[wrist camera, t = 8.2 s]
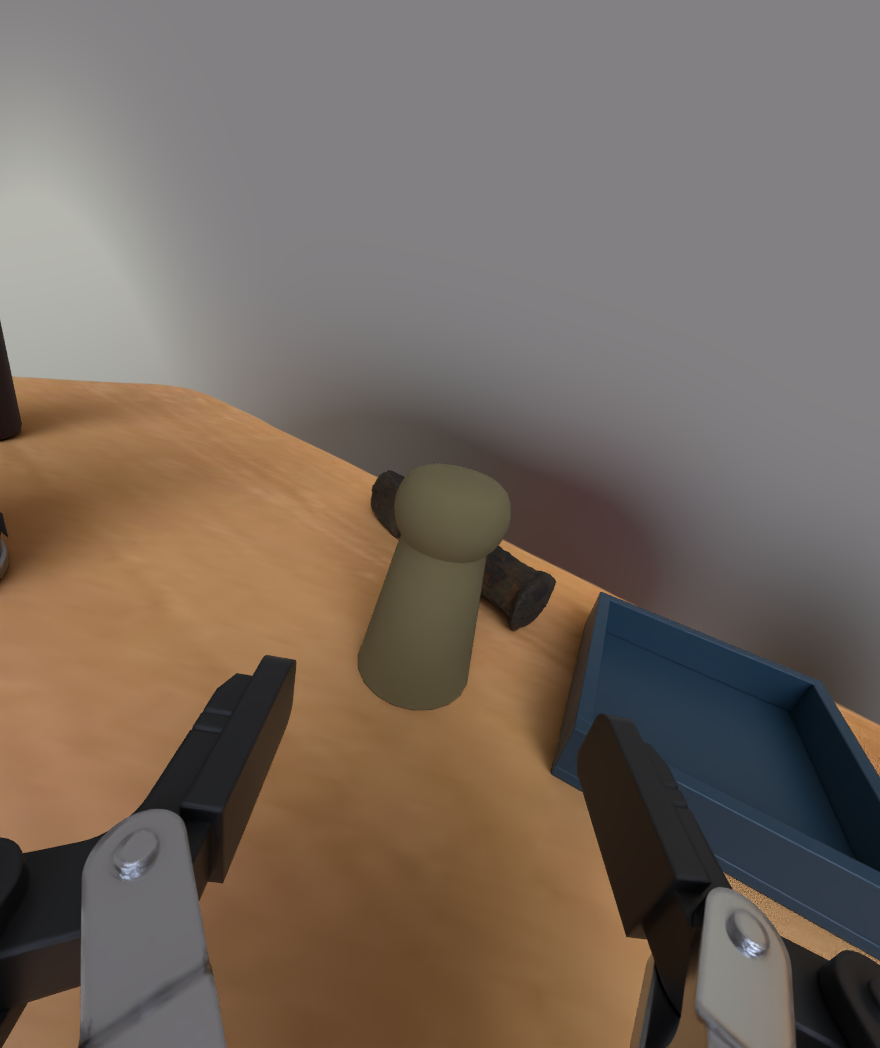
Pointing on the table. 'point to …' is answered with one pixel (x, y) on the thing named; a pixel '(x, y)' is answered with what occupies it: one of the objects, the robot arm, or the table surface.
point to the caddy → (741, 760)
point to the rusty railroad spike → (503, 574)
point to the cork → (433, 586)
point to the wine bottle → (7, 397)
